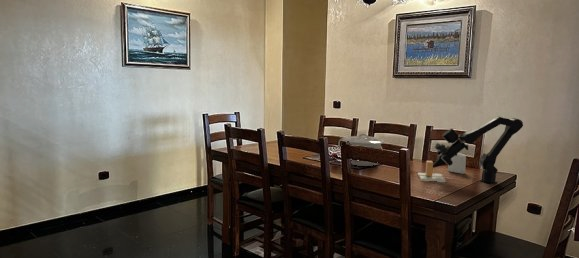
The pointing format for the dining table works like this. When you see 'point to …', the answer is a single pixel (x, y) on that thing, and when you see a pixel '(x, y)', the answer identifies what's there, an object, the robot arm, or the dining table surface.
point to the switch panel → (431, 177)
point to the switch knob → (429, 168)
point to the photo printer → (458, 164)
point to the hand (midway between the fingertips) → (432, 167)
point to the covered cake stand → (363, 141)
